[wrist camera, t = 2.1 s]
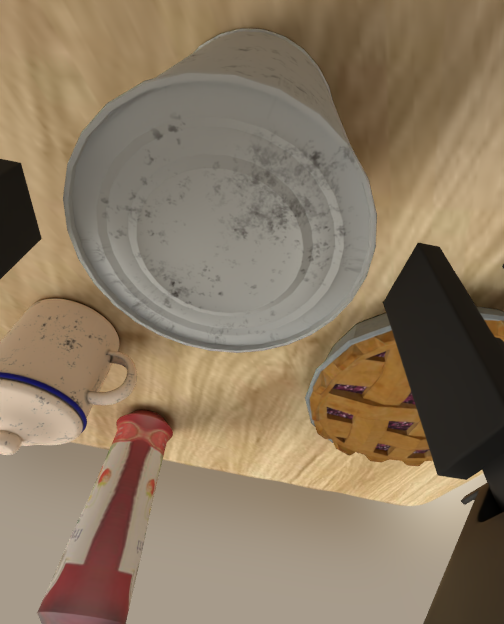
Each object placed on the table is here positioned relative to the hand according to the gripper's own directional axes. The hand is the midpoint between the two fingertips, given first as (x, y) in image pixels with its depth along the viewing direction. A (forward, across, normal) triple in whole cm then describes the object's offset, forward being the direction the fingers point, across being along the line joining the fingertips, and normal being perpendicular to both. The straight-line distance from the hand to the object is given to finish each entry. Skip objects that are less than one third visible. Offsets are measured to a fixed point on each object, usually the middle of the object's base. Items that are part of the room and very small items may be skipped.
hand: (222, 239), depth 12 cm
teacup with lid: (+12, -12, -20) cm, 26 cm away
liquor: (+12, -7, -35) cm, 37 cm away
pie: (+11, +20, -17) cm, 29 cm away
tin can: (+11, 0, 0) cm, 11 cm away
